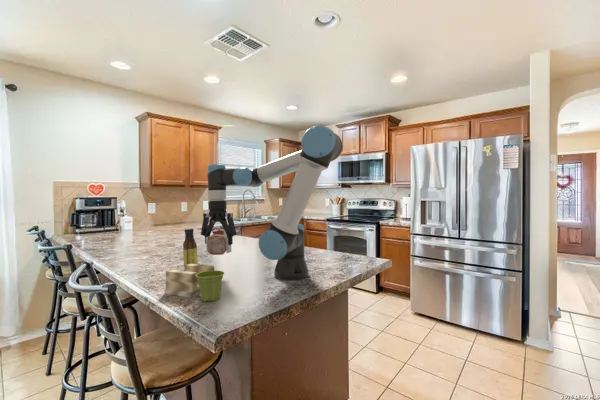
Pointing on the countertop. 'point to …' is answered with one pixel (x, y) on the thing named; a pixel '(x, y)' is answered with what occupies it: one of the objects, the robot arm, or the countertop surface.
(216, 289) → the plant pot
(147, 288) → the countertop surface
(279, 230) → the robot arm
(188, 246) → the sauce bottle
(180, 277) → the stand
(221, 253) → the food item
